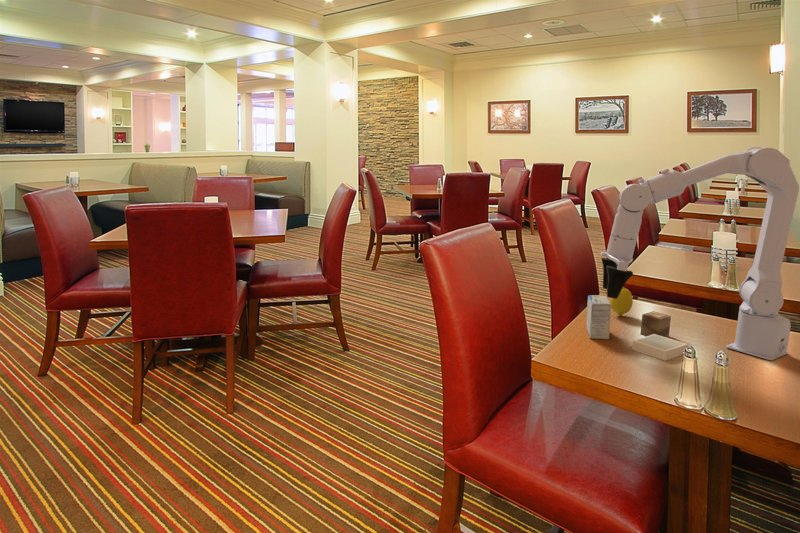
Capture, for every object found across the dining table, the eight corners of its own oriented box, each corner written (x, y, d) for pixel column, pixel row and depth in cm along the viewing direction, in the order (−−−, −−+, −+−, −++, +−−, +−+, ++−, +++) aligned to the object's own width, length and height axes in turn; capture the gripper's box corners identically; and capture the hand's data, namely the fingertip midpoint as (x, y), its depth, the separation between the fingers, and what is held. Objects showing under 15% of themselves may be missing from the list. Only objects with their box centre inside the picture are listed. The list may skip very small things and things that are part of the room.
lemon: (615, 311, 155) (618, 282, 153) (635, 316, 151) (638, 286, 149) (604, 315, 151) (607, 286, 149) (624, 320, 147) (627, 290, 145)
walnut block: (668, 336, 136) (671, 315, 134) (657, 339, 133) (659, 318, 132) (651, 330, 139) (653, 310, 138) (640, 334, 137) (642, 313, 136)
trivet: (686, 354, 125) (687, 343, 124) (664, 362, 120) (666, 351, 120) (653, 344, 131) (654, 333, 131) (631, 351, 127) (632, 340, 126)
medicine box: (609, 340, 133) (612, 304, 131) (589, 338, 134) (591, 303, 132) (604, 329, 140) (606, 295, 138) (585, 328, 141) (587, 294, 139)
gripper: (601, 228, 137) (589, 281, 141) (610, 239, 123) (595, 298, 127) (632, 233, 136) (618, 287, 140) (643, 245, 122) (628, 304, 126)
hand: (609, 293), depth 133 cm, fingers open, 7 cm apart
